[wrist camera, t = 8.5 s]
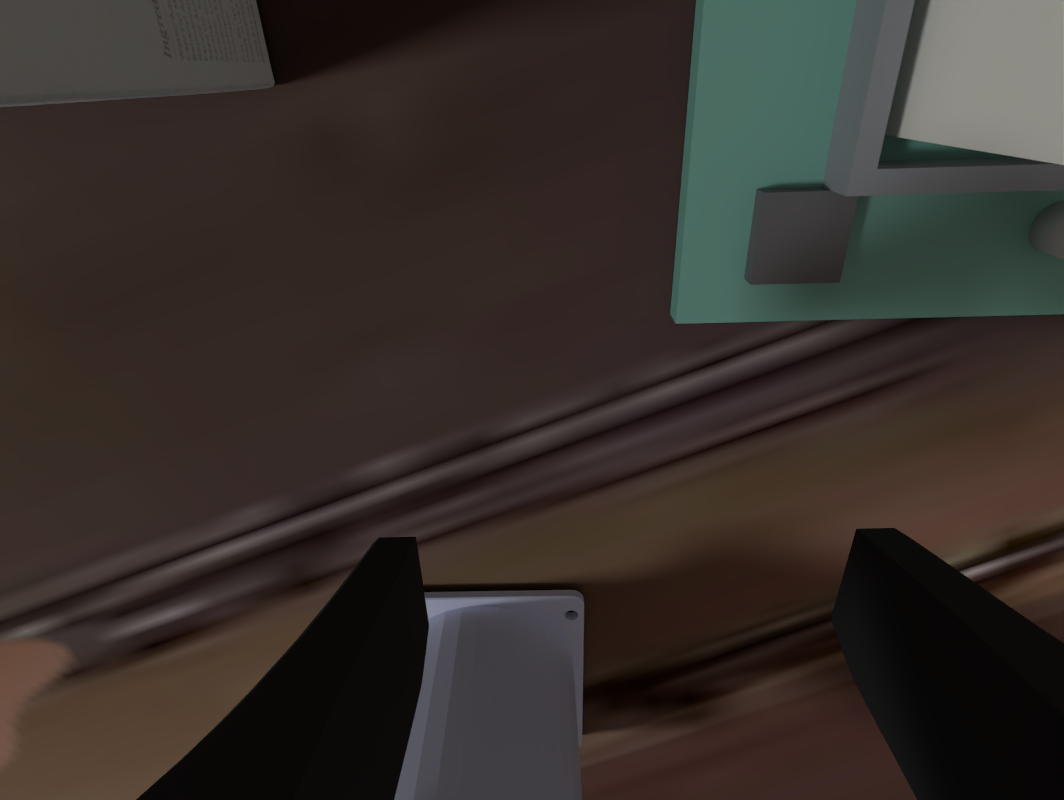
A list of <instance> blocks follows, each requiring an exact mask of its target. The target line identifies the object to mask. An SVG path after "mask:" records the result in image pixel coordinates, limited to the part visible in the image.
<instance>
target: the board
mask: <svg viewBox="0 0 1064 800" xmlns="http://www.w3.org/2000/svg"><path fill="white" fill-rule="evenodd" d="M914 2H915V0H696V10H695V22H694V34H693V46H692V58H691V70H690V82H689V94H688V106H687V119H686V131H685V143H684V155H683V167H682V179H681V191H680V203H679V215H678V228H677V240H676V252H675V264H674V276H673V288H672V300H671V312H670V314H671V316H672V318H673V320H674V322H675V323H676V324H683V323H724V322H765V321H805V320H846V319H887V318H927V317H968V316H1009V315H1049V314H1064V165H1060V164H1054V163H1049V162H1043V161H1037V160H1031V159H1025V158H1019V157H1013V156H1007V155H1001V154H995V153H989V152H983V151H977V150H971V149H965V148H959V147H953V146H947V145H941V144H935V143H929V142H923V141H917V140H911V139H905V138H899V137H893V136H887V135H885V131H886V127H887V123H888V118H889V114H890V109H891V105H892V100H893V96H894V91H895V87H896V82H897V78H898V73H899V69H900V65H901V60H902V56H903V51H904V47H905V42H906V38H907V33H908V29H909V24H910V20H911V16H912V11H913V7H914Z"/></svg>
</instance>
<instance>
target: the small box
mask: <svg viewBox="0 0 1064 800" xmlns="http://www.w3.org/2000/svg"><path fill="white" fill-rule="evenodd" d="M274 83H275V81H274V78H273V74H272V69H271V65H270V61H269V56H268V52H267V47H266V43H265V38H264V34H263V29H262V25H261V20H260V16H259V11H258V7H257V2H256V0H0V107H10V106H27V105H42V104H56V103H71V102H86V101H100V100H115V99H130V98H146V97H161V96H176V95H190V94H204V93H217V92H230V91H243V90H253V89H263V88H270V87H273V86H274Z"/></svg>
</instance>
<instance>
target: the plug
mask: <svg viewBox="0 0 1064 800" xmlns="http://www.w3.org/2000/svg"><path fill="white" fill-rule="evenodd" d="M885 135H887V136H893V137H899V138H905V139H911V140H917V141H923V142H929V143H935V144H941V145H947V146H953V147H959V148H965V149H971V150H977V151H983V152H989V153H995V154H1001V155H1007V156H1013V157H1019V158H1025V159H1031V160H1037V161H1043V162H1049V163H1054V164H1060V165H1064V0H915V2H914V7H913V11H912V16H911V20H910V24H909V29H908V33H907V38H906V42H905V47H904V51H903V56H902V60H901V65H900V69H899V73H898V78H897V82H896V87H895V91H894V96H893V100H892V105H891V109H890V114H889V118H888V123H887V127H886V131H885Z"/></svg>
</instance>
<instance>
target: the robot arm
mask: <svg viewBox="0 0 1064 800" xmlns="http://www.w3.org/2000/svg"><path fill="white" fill-rule="evenodd" d="M567 611H575V612H567ZM831 621H832V623H833V626H834V629H835V632H836V634H837V637H838V640H839V643H840V645H841V648H842V651H843V654H844V656H845V659H846V661H847V664H848V666H849V668H850V671H851V673H852V676H853V678H854V681H855V683H856V685H857V687H858V689H859V691H860V693H861V695H862V696H863V698H864V700H865V702H866V704H867V706H868V708H869V710H870V712H871V714H872V716H873V717H874V719H875V721H876V723H877V725H878V727H879V729H880V731H881V733H882V734H883V736H884V738H885V740H886V742H887V744H888V746H889V748H890V749H891V751H892V753H893V755H894V757H895V759H896V761H897V762H898V764H899V766H900V768H901V770H902V772H903V774H904V776H905V777H906V779H907V781H908V783H909V785H910V787H911V789H912V790H913V792H914V794H915V796H916V798H917V800H1064V643H1062V642H1061V641H1059V640H1058V639H1056V638H1055V637H1053V636H1052V635H1050V634H1049V633H1047V632H1046V631H1044V630H1043V629H1041V628H1040V627H1038V626H1037V625H1035V624H1034V623H1032V622H1031V621H1029V620H1028V619H1027V618H1025V617H1024V616H1022V615H1021V614H1019V613H1018V612H1016V611H1015V610H1013V609H1012V608H1010V607H1009V606H1008V605H1006V604H1005V603H1003V602H1002V601H1000V600H999V599H997V598H996V597H995V596H993V595H992V594H990V593H989V592H987V591H986V590H984V589H983V588H982V587H980V586H979V585H977V584H976V583H974V582H973V581H972V580H970V579H969V578H967V577H966V576H964V575H963V574H962V573H960V572H959V571H957V570H956V569H954V568H953V567H952V566H950V565H949V564H947V563H946V562H944V561H943V560H942V559H940V558H939V557H937V556H936V555H934V554H933V553H931V552H930V551H929V550H927V549H926V548H924V547H923V546H921V545H920V544H918V543H917V542H915V541H914V540H912V539H911V538H909V537H908V536H906V535H905V534H903V533H901V532H900V531H898V530H897V529H895V528H874V529H856V532H855V536H854V539H853V543H852V546H851V550H850V553H849V557H848V560H847V564H846V567H845V571H844V575H843V578H842V582H841V585H840V589H839V592H838V596H837V599H836V603H835V606H834V610H833V613H832V617H831ZM583 654H584V598H583V595H582V594H581V593H580V592H578V591H576V590H526V591H466V592H424V588H423V581H422V575H421V568H420V562H419V555H418V548H417V542H416V537H385V538H378V539H377V540H376V541H375V542H374V543H373V544H372V546H371V547H370V548H369V550H368V551H367V552H366V554H365V555H364V556H363V558H362V559H361V560H360V562H359V563H358V564H357V565H356V567H355V568H354V569H353V571H352V572H351V573H350V575H349V576H348V577H347V579H346V580H345V581H344V582H343V584H342V585H341V586H340V588H339V589H338V590H337V591H336V593H335V594H334V595H333V596H332V598H331V599H330V600H329V601H328V603H327V604H326V605H325V606H324V608H323V609H322V610H321V611H320V612H319V614H318V615H317V616H316V617H315V618H314V620H313V621H312V622H311V623H310V624H309V626H308V627H307V628H306V629H305V630H304V632H303V633H302V634H301V635H300V636H299V638H298V639H297V640H296V641H295V642H294V643H293V645H292V646H291V647H290V648H289V649H288V650H287V651H286V653H285V654H284V655H283V656H282V657H281V658H280V659H279V660H278V661H277V662H276V664H275V665H274V666H273V667H272V668H271V669H270V670H269V671H268V672H267V673H266V675H265V676H264V677H263V678H262V679H261V680H260V681H259V682H258V683H257V684H256V685H255V687H254V688H253V689H252V690H251V691H250V692H249V693H248V694H247V695H246V696H245V697H244V698H243V699H242V700H241V701H240V702H239V703H238V704H237V706H236V707H235V708H234V709H233V710H232V711H231V712H230V713H229V714H228V715H227V716H226V717H225V718H224V719H223V720H222V721H221V722H220V723H219V724H218V725H217V726H216V727H215V728H214V729H213V730H212V731H211V732H209V733H208V734H207V735H206V736H205V737H204V738H203V739H202V740H201V741H200V742H199V743H198V744H197V745H196V746H195V747H194V748H193V749H192V750H191V751H190V752H189V753H188V754H187V755H185V756H184V757H183V758H182V759H181V760H180V761H179V762H178V763H177V764H176V765H175V766H173V767H172V768H171V769H170V770H169V771H168V772H167V773H166V774H164V775H163V776H162V777H161V778H160V779H159V780H158V781H157V782H155V783H154V784H153V785H152V786H151V787H150V788H149V789H148V790H147V791H145V792H144V793H143V794H142V795H141V796H140V797H139V798H138V799H136V800H582V790H581V774H580V759H579V746H580V745H581V744H582V715H583Z"/></svg>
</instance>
